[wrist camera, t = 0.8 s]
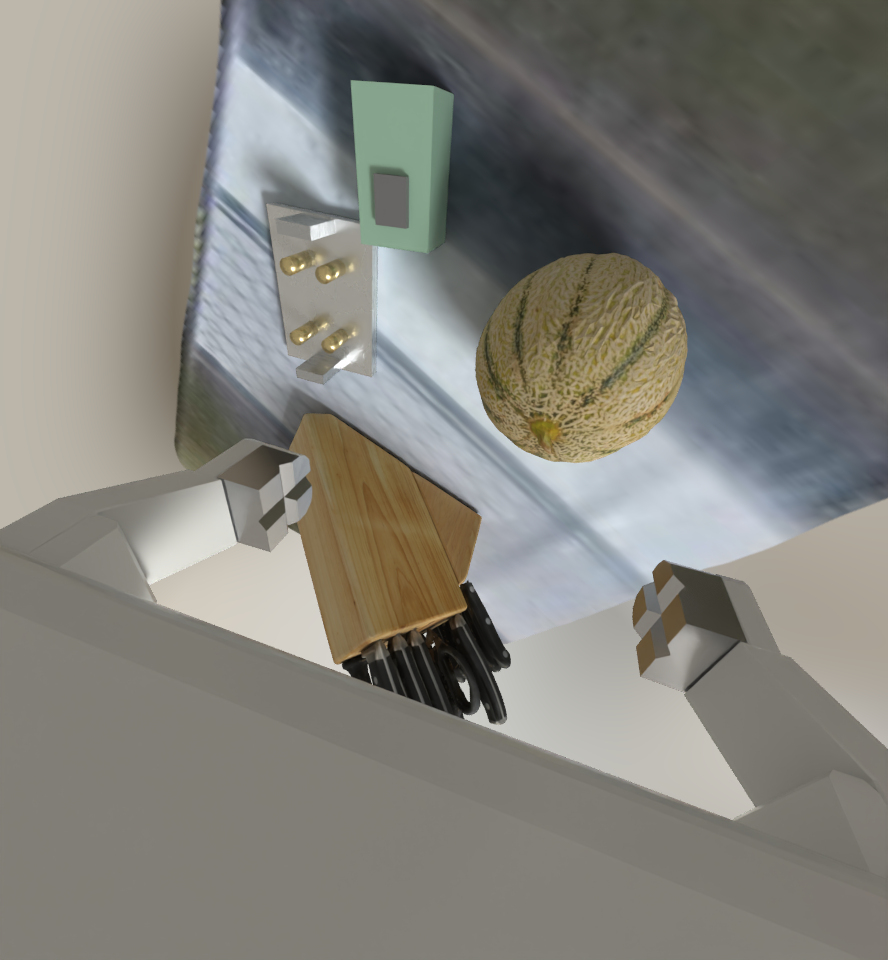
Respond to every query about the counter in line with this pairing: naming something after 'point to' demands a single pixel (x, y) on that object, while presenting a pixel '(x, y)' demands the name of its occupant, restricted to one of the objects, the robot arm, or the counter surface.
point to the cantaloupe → (582, 357)
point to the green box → (402, 163)
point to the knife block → (396, 574)
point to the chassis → (325, 291)
